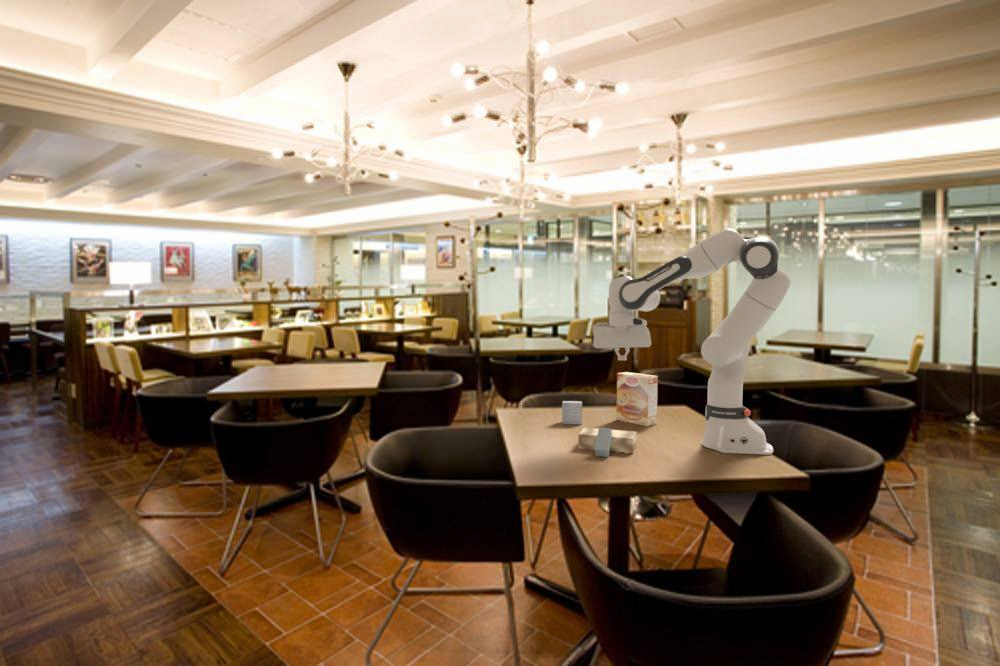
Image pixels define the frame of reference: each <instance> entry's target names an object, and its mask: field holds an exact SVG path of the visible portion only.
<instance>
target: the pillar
mask: <svg viewBox="0 0 1000 666" xmlns="http://www.w3.org/2000/svg"><path fill="white" fill-rule="evenodd" d="M611 430H612V428H611V427H610V428H609V427H598V435H597V440H596V445H595V450H594V454H595V457H599V456H603V457H602V458H609V455H610V452H609V450H610V444H611V438H612V432H611Z"/></svg>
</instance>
